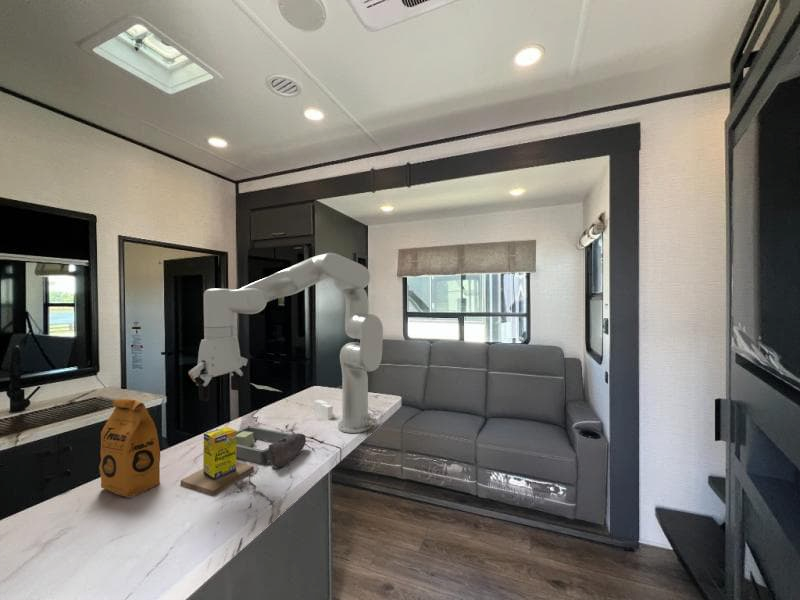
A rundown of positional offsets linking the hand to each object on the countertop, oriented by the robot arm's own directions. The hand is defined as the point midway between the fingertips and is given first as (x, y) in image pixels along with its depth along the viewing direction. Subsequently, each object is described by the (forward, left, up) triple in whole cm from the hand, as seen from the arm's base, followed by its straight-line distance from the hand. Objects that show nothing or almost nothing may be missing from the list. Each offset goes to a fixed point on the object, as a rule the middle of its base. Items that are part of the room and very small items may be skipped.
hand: (221, 394), depth 86 cm
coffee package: (+15, +13, -22) cm, 29 cm away
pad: (-2, +2, -21) cm, 21 cm away
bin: (+2, -14, -21) cm, 25 cm away
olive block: (+7, -14, -21) cm, 26 cm away
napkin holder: (0, -46, -22) cm, 51 cm away
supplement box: (-2, +2, -20) cm, 20 cm away
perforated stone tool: (-12, -12, -22) cm, 28 cm away
